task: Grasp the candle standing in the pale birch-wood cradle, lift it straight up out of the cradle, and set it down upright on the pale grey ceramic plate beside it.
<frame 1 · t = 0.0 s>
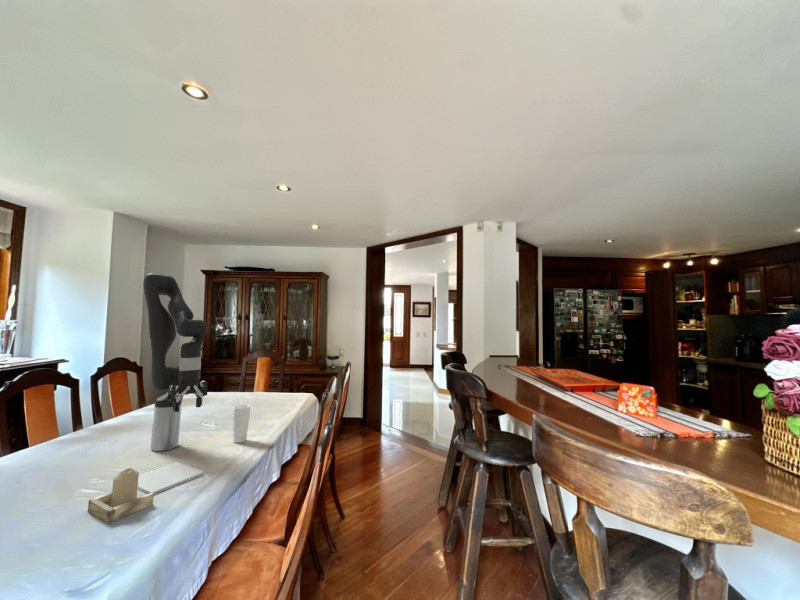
hand: (187, 409, 130), 17 cm above the table, tool pointing down, fingers open, 8 cm apart
candle: (123, 507, 91), resting in cradle
cradle: (123, 506, 91), on the table
plate: (165, 478, 108), on the table
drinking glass: (239, 441, 143), on the table
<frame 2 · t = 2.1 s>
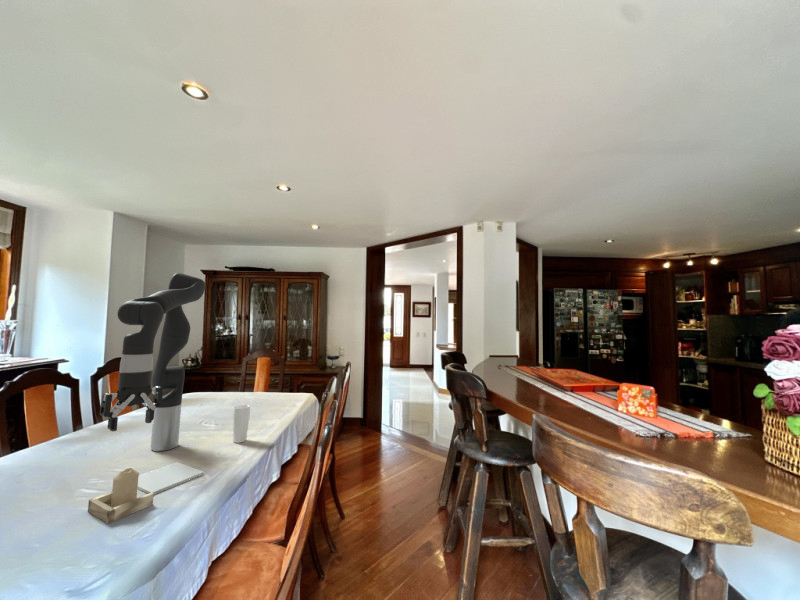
hand: (131, 426, 93), 22 cm above the table, tool pointing down, fingers open, 8 cm apart
nothing on the table moved.
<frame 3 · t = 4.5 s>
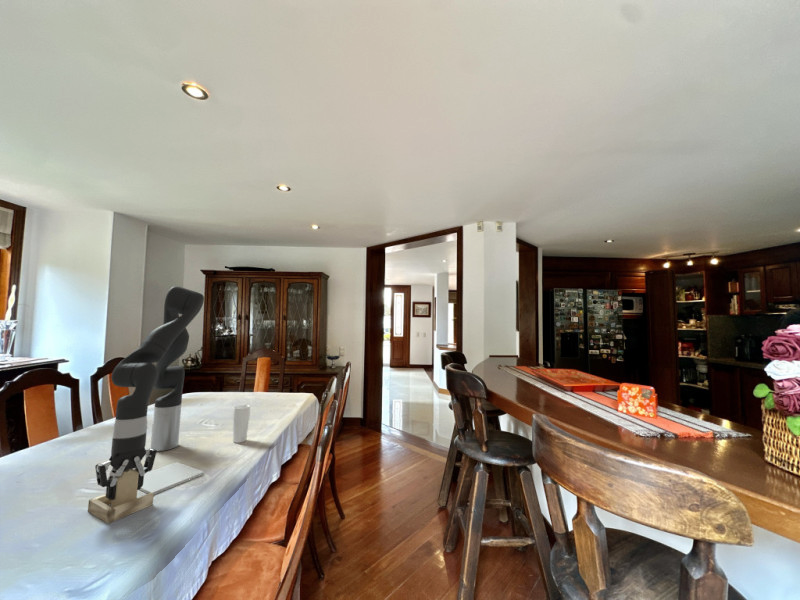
hand: (124, 493, 91), 4 cm above the table, tool pointing down, fingers closed on candle, 5 cm apart
candle: (123, 507, 91), resting in cradle, touching gripper
everything else where it was.
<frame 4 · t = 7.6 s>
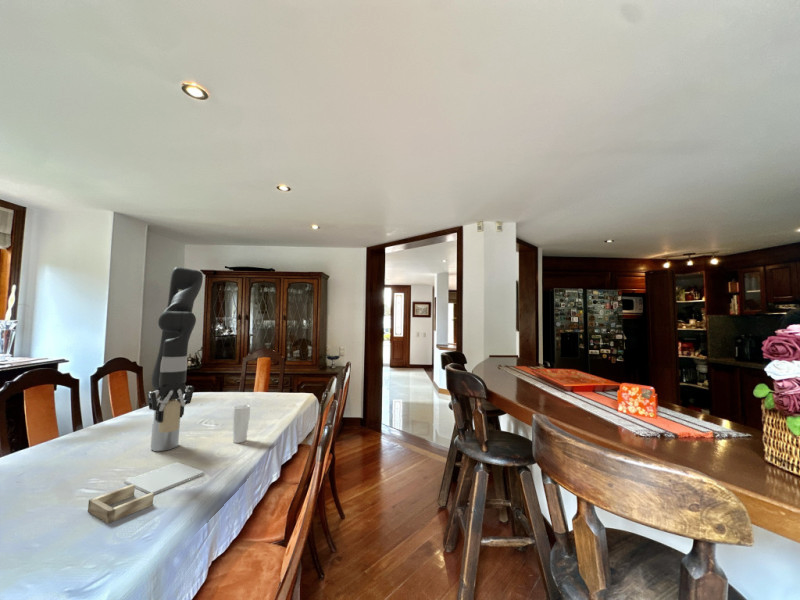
hand: (169, 419, 109), 19 cm above the table, tool pointing down, fingers closed on candle, 5 cm apart
candle: (168, 430, 109), point 15 cm above the table, touching gripper
everything else where it was.
when the fingers open (6 cm above the table, at t = 10.7 s): candle drops 1 cm, resting on plate.
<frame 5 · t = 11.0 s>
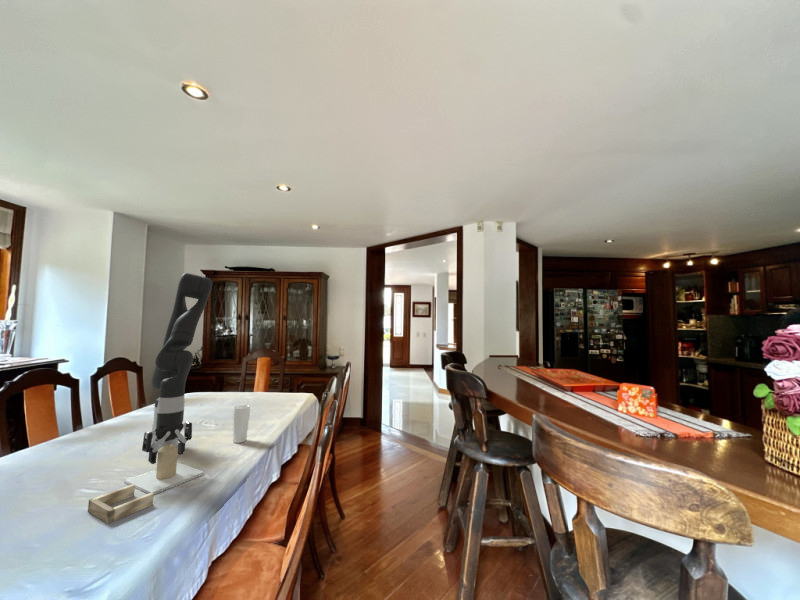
hand: (166, 458, 108), 6 cm above the table, tool pointing down, fingers open, 8 cm apart
candle: (166, 476, 108), point 1 cm above the table, touching plate
everything else where it was.
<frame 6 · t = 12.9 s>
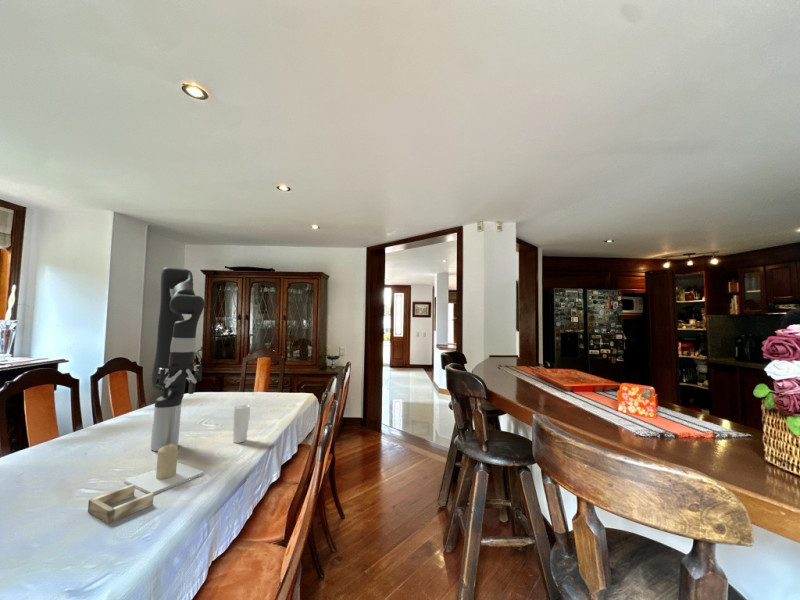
hand: (178, 395, 115), 26 cm above the table, tool pointing down, fingers open, 8 cm apart
nothing on the table moved.
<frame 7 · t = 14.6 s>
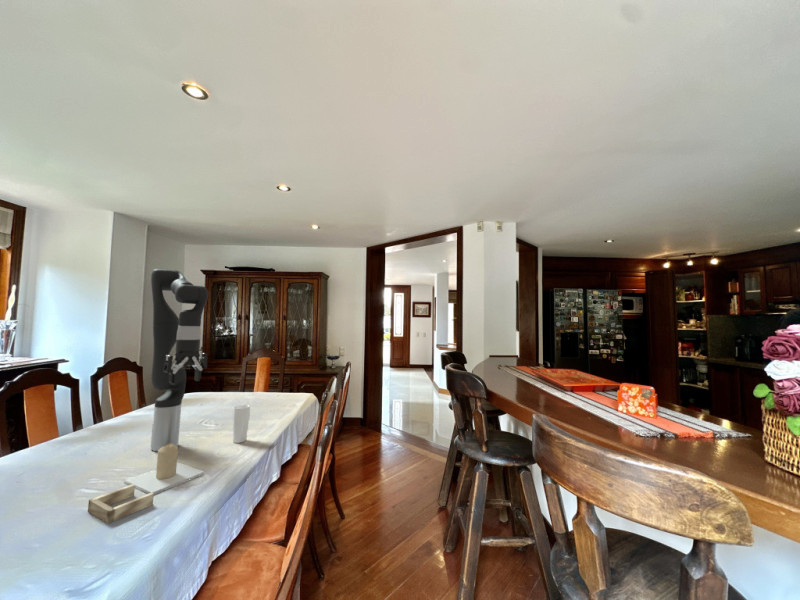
hand: (185, 382, 119), 30 cm above the table, tool pointing down, fingers open, 8 cm apart
nothing on the table moved.
at the end: candle inside the target area on the plate (0.2 cm from its centre), point 0.6 cm above the plate's base; candle tilted 0°; the gripper is holding nothing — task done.
